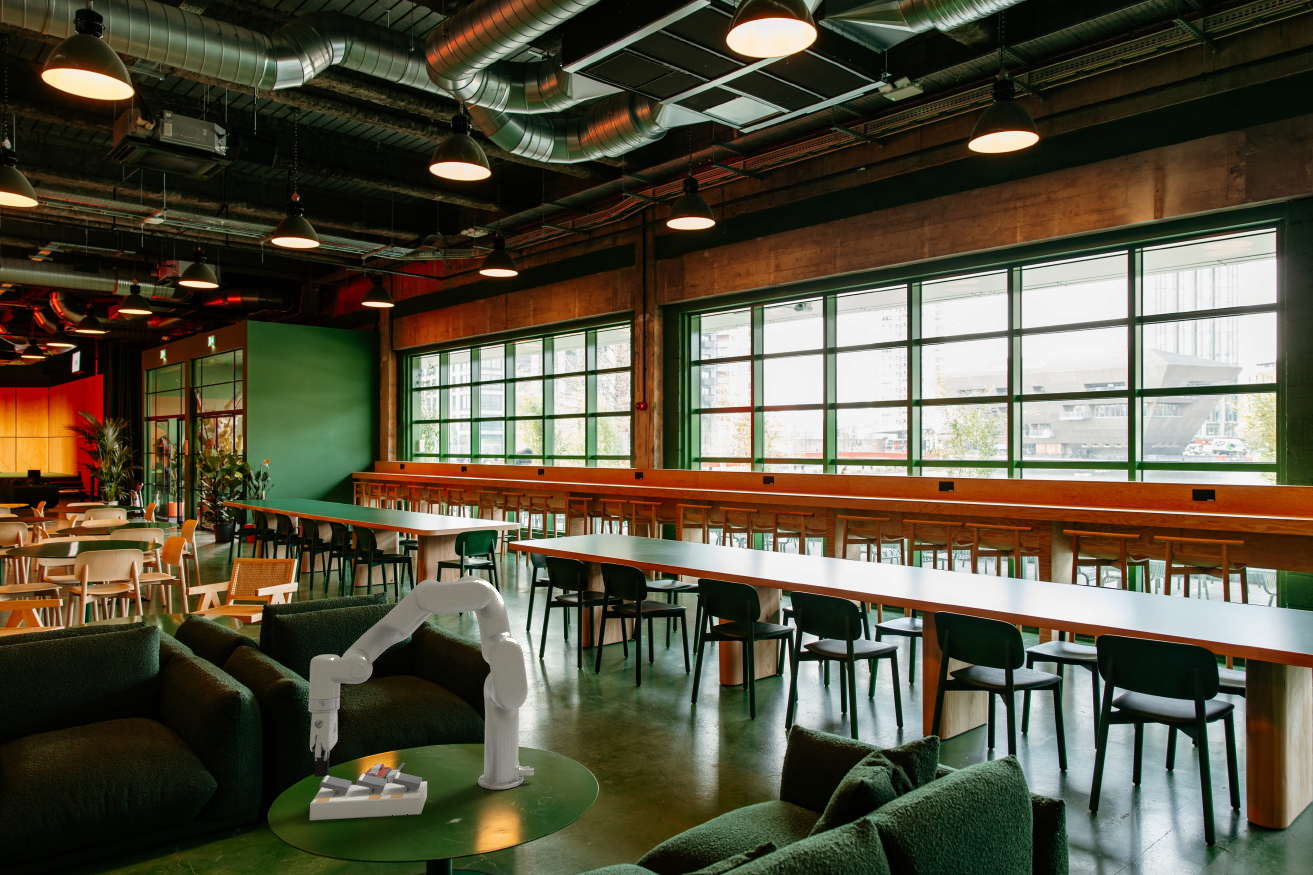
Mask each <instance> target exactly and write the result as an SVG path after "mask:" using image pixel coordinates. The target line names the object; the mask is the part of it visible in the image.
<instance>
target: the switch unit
mask: <svg viewBox="0 0 1313 875" xmlns="http://www.w3.org/2000/svg"><path fill="white" fill-rule="evenodd" d="M427 797H428V781H423V780H422V781H421V784H420V787H419V789H417V788H412V787H407V786H403V785H398V784H394V783H392V782H391V783H386V785H385V787H384V789H383V791H382V790H377V789H372V788H368V787H363V786H358V785H356V784H351V786H350V788H349V790H348V791H347V793H346V792H341V791H337V790H332V789H327V788H322V787H320V789H319V791H318V792H317V793H316V795H315V796H314V798H313V800H312V801H311V802H310V806H309V807H310V808H309V821H319V820H320V821H321V820H334V819H335V820H337V819H340V820H341V819H354V818H373V817H391V816H392V815H393V816H407V814H408V816H409V815H410V816H411V815H422V812H423V809H424V806H425V803H426V800H427Z"/></svg>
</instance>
